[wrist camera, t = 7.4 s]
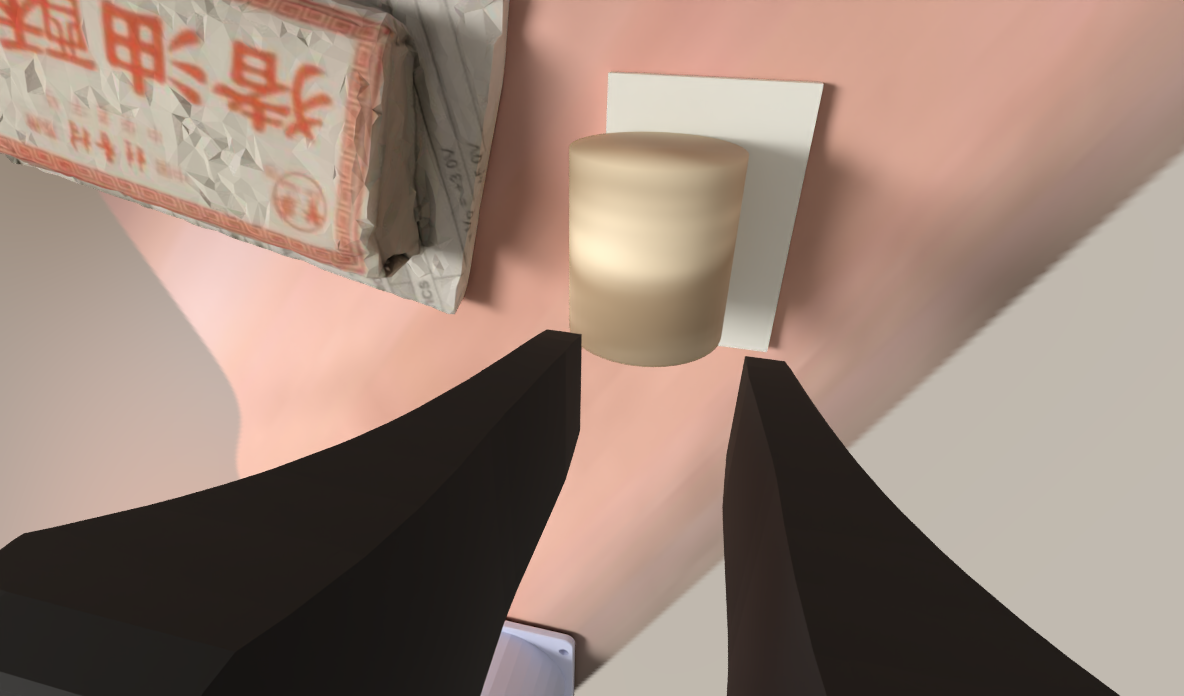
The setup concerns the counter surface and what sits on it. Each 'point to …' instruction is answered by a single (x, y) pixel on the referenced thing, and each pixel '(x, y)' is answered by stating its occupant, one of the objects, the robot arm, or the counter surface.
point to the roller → (652, 243)
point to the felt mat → (773, 179)
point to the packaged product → (272, 121)
